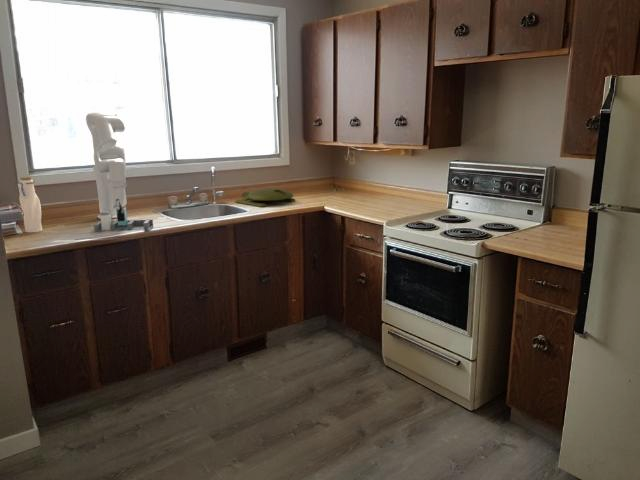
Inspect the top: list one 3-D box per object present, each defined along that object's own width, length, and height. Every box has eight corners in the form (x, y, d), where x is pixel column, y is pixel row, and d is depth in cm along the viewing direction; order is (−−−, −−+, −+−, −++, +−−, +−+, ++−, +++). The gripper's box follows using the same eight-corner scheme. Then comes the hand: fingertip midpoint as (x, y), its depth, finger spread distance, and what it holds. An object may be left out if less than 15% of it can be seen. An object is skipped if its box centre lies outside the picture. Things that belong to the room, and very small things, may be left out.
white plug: (104, 228, 265) (101, 211, 262) (112, 227, 265) (110, 210, 263) (101, 229, 261) (99, 212, 258) (110, 229, 261) (108, 212, 259)
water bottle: (41, 232, 261) (33, 178, 254) (21, 234, 259) (13, 178, 252) (45, 228, 271) (38, 175, 264) (26, 229, 268) (18, 176, 261)
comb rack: (98, 228, 268) (97, 221, 267) (153, 226, 272) (152, 219, 271) (91, 234, 257) (90, 226, 256) (149, 231, 260) (148, 223, 259)
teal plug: (119, 223, 265) (117, 206, 263) (127, 223, 266) (125, 206, 263) (117, 225, 261) (115, 208, 259) (125, 225, 262) (124, 207, 260)
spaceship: (233, 203, 341) (232, 188, 338) (268, 197, 363) (267, 183, 360) (268, 209, 318) (267, 193, 315) (303, 202, 339) (302, 188, 337)
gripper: (114, 182, 266) (118, 217, 270) (106, 187, 250) (110, 223, 254) (129, 182, 267) (133, 216, 271) (122, 186, 251) (126, 223, 255)
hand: (122, 219), depth 263 cm, fingers closed on teal plug, 4 cm apart
